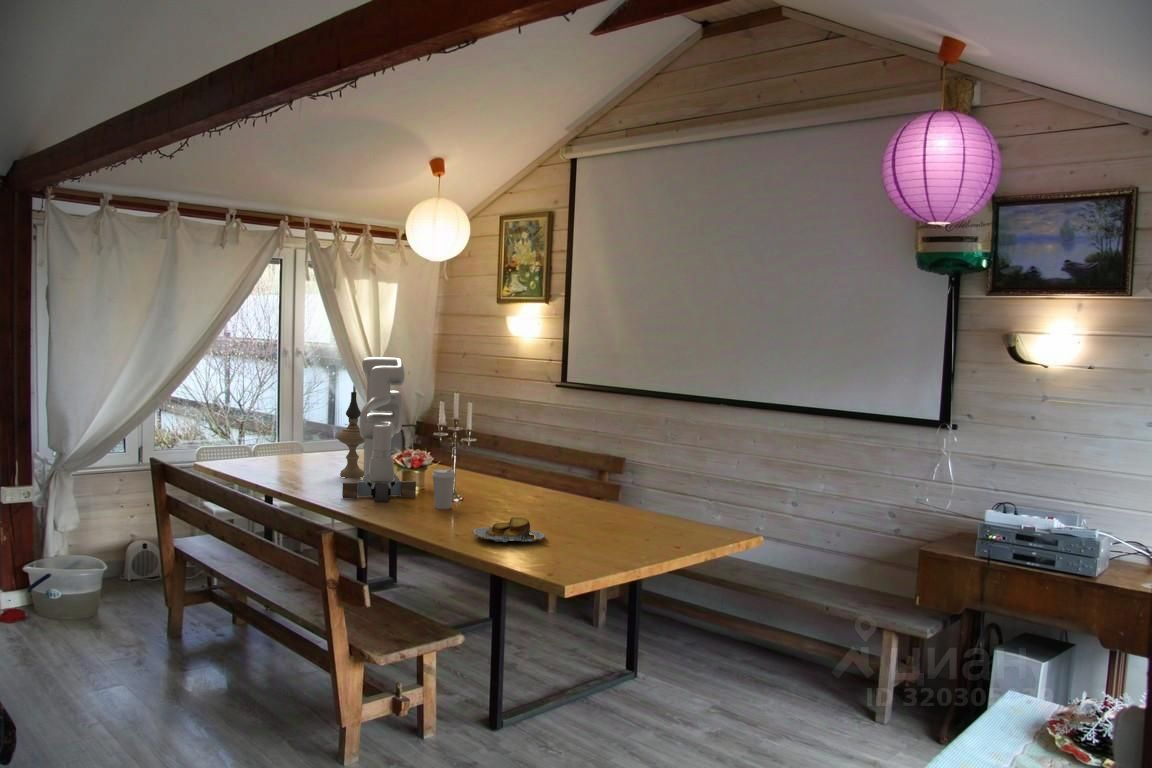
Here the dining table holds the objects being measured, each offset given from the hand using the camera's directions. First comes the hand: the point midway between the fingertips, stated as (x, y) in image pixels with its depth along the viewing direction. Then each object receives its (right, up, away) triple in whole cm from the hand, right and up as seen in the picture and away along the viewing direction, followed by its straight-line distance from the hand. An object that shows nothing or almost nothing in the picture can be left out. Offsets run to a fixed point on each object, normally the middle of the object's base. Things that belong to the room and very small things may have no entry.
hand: (380, 497), depth 358 cm
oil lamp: (-25, +3, +51) cm, 57 cm away
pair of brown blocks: (-2, -1, +6) cm, 6 cm away
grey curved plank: (-2, 0, +8) cm, 9 cm away
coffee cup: (+27, -3, -9) cm, 29 cm away
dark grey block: (0, -1, 0) cm, 1 cm away
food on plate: (+57, -8, -55) cm, 80 cm away
